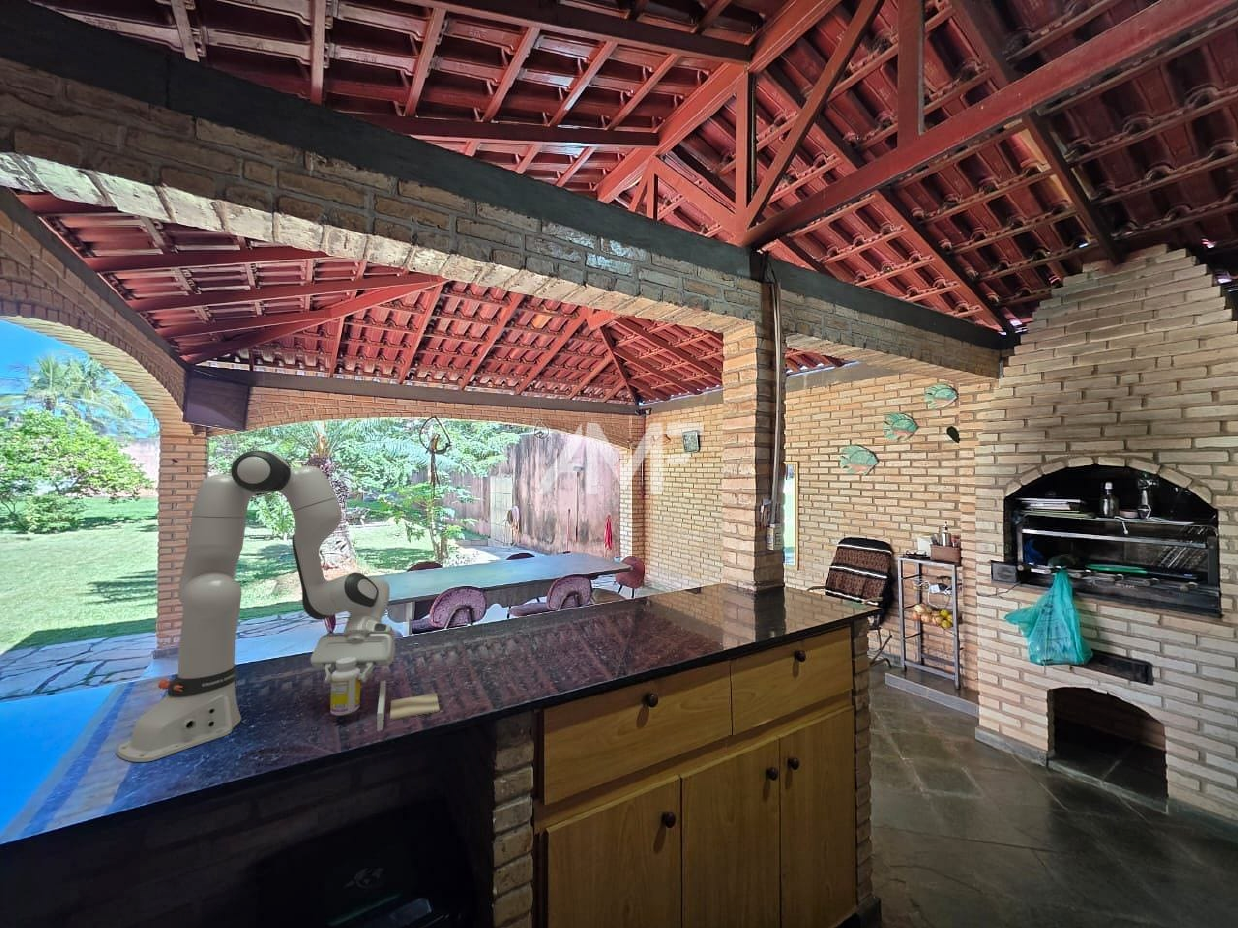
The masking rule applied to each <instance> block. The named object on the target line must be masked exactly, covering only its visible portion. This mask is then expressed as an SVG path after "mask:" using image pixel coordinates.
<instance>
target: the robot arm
mask: <svg viewBox="0 0 1238 928" xmlns="http://www.w3.org/2000/svg"><path fill="white" fill-rule="evenodd" d="M230 472H231V473H218V474H217V473H216V474H213V475H210V476H208V477H206V478H204V479H203V480H202V481H201V483H200V485H199V488H198V490H197V493H196V495H195V499H194V503H193V507H192V511H191V518H190V523H189V524H190V525H189V532H188V541H187V547H186V550H185V555H184V559H183V564H182V567H181V574H180V577H179V584H178V590H177V597H178V600H179V603H180V604H181V607H182V615H181V616H182V617H181V626H180V636H179V641H178V653H177V654H178V655H177V656H178V657H177V674H176V675H175V677H174V678H173V679H172V680H167V679H162V680H160V681H159V683H158V684H157V688H159V690H160V689H161V690H162V691H163V690H167V694H166V695H165V696H163V698H162V699H160V700H159V701H158V702H157V703H156V704H155V705H153V706H152V707H151V708H150V709H148V711H147V712H146V711H145V713H144V714H142V716H140V717H139V718H138V719H137V720H136V722H135V724H134V726H133V729H132V734H131V738H130V740H127V741H126V742H123V743H121V744H120V745H118V747H117V751H116V755H117V756H118V757H119V758H121V759H123V760H125V761H129V762H135V763H136V762H137V763H139V762H140V763H143V762H145V763H146V762H151V761H155V760H158V759H161V758H164V757H167V756H170V755H173V754H176V753H178V752H181V751H184V750H187V749H190V748H193V747H195V746H199V745H201V744H205V743H207V742H210V741H213V740H216V739H219V738H222V737H225V736H227V735H229V734H231V733H232V732H233V729H234V728H235V727H236V726H237V725H238V724H240V722H241V720H242V717H241V714H240V710H239V707H238V702H237V697H236V696H237V695H236V685H237V681H238V680H237V677H238V669H237V664H236V637H237V628H238V623H239V617H240V611H241V610H240V609H241V601H242V600H241V599H242V588H241V585H240V584H239V582H238V581H237V580H236V579H235V574H236V570H237V567H238V562H239V559H240V555H241V553H242V550H243V545H244V538H245V531H246V522H247V516H248V515H247V514H248V508H249V504H250V500H251V499H252V497H253V496H259V495H265V494H271V493H275V492H279V493H281V494H282V495H283V496H284V497H285V499H286V501H287V502H288V505H289V507H290V510H291V512H292V514H293V518H294V526H295V527H294V529H295V530H294V534H293V535H292V539H291V541H292V548H293V549H292V550H293V555H294V556H293V557H294V559H295V560H294V561H295V564H296V568H297V573H298V578H299V582H300V587H301V600H302V601H301V603H302V607H303V610H304V612H305V613H306V614H307V615H308V616H309V617H311V619H314V620H319V621H322V620H326V619H329V618H330V617H333V616H336V615H337V614H341V613H344V612H347V613H349V617H348V619H347V622H346V624H345V627H344V630H343V632H336V633H335V632H334V633H332V632H331V633H330V632H329V633H326V634H325V635H323V636H321V637H319V639H318V642H317V644H316V647H315V648H314V651H313V652H312V654H311V657H310V658H309V659H310V661H309V662H310V663H311V665H312V667H314V669H324V670H325V671H324V672H325V674H326V676H325V679H324V683H325V684H331V676H332V674H333V673H331V672H334V669H335V668H336V661H337V660H339V659H342V658H347V657H354V658H356V659H357V663H356V665H355V667H357V668H362V667H363V668H364V667H365V670H363V672H360V673H359V677H358V681H359V682H360V683H365V682H367V681H366V680H367V677H368V676H369V675H370V674H371V673H372V672H373V671H374V669H375V667H384V666H385V667H387V666H390V665H391V664H392V663H393V661H394V657H395V652H396V645H395V641H396V635H395V631H394V629H393V627H392V626H391V625H390V624H386V623H384V622H382V620H383V616H384V615H385V613H386V610H387V608H388V604H389V600H390V594H391V593H390V585H389V583H388V582H387V581H386V580H385V579H382V578H380V577H367V576H366V575H365V574H363V573H361V572H357V571H356V572H351V573H347V574H344V575H340V576H338V577H336V578H332V579H330V580H327V579H326V578H325V574H324V570H323V566H322V561H321V557H320V550H321V547H322V545H323V543H324V542H325V541H326V539H328V537H330V536H331V535H332V534H333V533H334V532H335V531H336V530H337V529H338V527H339V525H340V523H341V520H342V518H343V516H342V509H341V505H340V503H339V500H338V498H337V495H336V493H335V490H334V488H333V487H332V485H331V483H330V481H329V480H328V478H327V475H325V472H323V470H322V469H321V468H319V467H317V466H314V465H303V466H299V467H292V466H291V464H290V462H289V461H287V459H286V458H284V457H282V456H280V455H279V454H277V453H274V452H271V451H264V450H250V451H247V452H245V453H242V454H240V456H238V457H237V458H236V459H234V462H233V463H232V465H231V470H230ZM336 669H337V668H336Z"/></svg>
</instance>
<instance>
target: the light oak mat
mask: <svg viewBox="0 0 1238 928" xmlns="http://www.w3.org/2000/svg"><path fill="white" fill-rule="evenodd" d="M440 710H441V709H440V703H439V699H438V692H434V693H426V694H421V695H416V696H409V697H404V698H398V699H397V698H396V699H392V700H390V710H389V711H390V713H389V721H390V720H394V719H400V718H405V717H411V716H416V717H419V716H418V715H422V714H427V715H430V714H429V713H433V714H435V713H434V712H438V711H440ZM440 712H441V711H440ZM438 713H439V712H438ZM422 716H423V715H422ZM411 718H412V717H411ZM405 719H406V718H405ZM400 720H401V719H400Z"/></svg>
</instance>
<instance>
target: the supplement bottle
mask: <svg viewBox="0 0 1238 928" xmlns="http://www.w3.org/2000/svg"><path fill="white" fill-rule="evenodd" d="M356 663H357V659H356V658H354V657H347V658H342V659H339V660H337V661H336V669H335V670H333V671H332V673H331V674H332V676H331V683H330V705H329V706H330V707H329V708H330V709H329V710H330V714H331V715H334V716H344V715H345V716H346V715H349V714H352V713H354V712H356V711H357V710H358V709H359V708H360V704H361V703H360V702H361V701H360V700H361V696H360V695H361V682H359V681H358V677H359V673H361V669H360V667H355V665H356Z"/></svg>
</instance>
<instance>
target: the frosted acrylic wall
mask: <svg viewBox="0 0 1238 928" xmlns="http://www.w3.org/2000/svg"><path fill="white" fill-rule="evenodd" d="M386 681H387V680H381V681H380V689H379V698H378V705H377V722H376V723H377V724H376V725H377V726H376V728H377V729H376V730H377V731H380V730H384V721H383V720H384V718H385V708H386V707H385V705H386V704H385V703H386V693H387V692H386V686H387V685H386ZM377 731H376V732H377Z"/></svg>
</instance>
